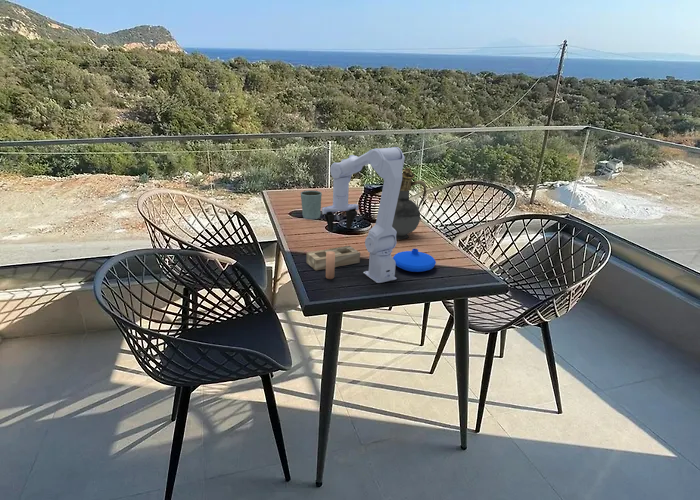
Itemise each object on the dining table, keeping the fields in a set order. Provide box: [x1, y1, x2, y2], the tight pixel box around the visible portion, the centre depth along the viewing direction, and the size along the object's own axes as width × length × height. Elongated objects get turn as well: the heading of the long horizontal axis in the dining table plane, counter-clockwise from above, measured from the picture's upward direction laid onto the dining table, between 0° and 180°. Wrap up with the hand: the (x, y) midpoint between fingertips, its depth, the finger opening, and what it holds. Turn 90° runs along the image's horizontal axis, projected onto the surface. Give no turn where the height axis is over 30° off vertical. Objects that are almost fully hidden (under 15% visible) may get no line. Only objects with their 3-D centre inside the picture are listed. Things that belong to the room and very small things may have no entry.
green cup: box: [300, 190, 323, 220], centre depth 218 cm, size 10×10×12 cm
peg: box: [325, 251, 336, 280], centre depth 153 cm, size 3×3×9 cm
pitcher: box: [392, 167, 428, 240], centre depth 193 cm, size 11×19×30 cm, turn 112°
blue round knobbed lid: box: [392, 248, 437, 273], centre depth 165 cm, size 16×16×7 cm
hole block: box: [306, 245, 361, 271], centre depth 166 cm, size 8×18×4 cm, turn 119°
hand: (339, 229), depth 171 cm, fingers open, 7 cm apart
